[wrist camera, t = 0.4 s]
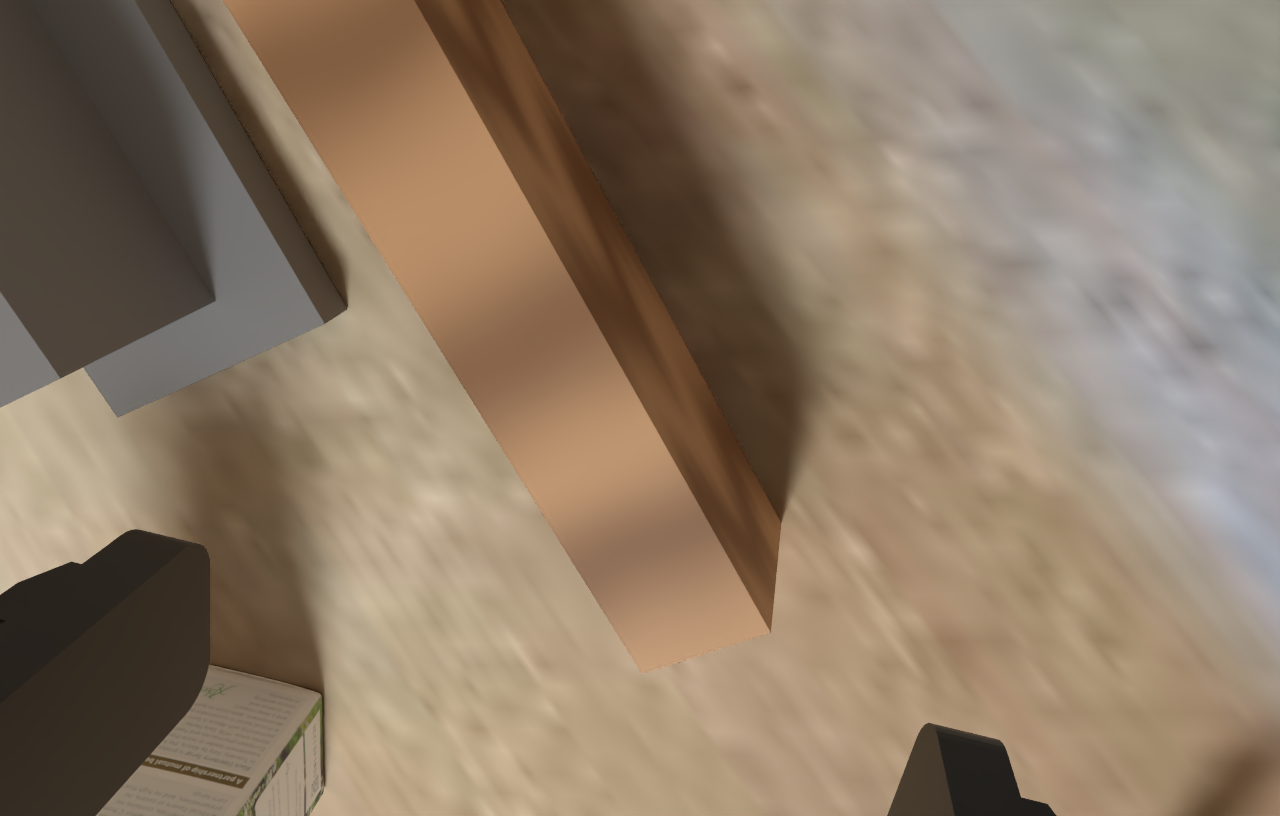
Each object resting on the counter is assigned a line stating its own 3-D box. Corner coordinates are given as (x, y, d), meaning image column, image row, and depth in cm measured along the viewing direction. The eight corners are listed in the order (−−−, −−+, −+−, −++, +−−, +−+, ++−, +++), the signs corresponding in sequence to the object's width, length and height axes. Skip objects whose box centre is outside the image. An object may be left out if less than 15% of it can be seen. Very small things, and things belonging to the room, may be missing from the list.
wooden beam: (345, -5, 26) (219, -5, 21) (458, -84, 25) (355, -105, 19) (674, 558, 32) (642, 673, 26) (781, 519, 30) (770, 632, 25)
